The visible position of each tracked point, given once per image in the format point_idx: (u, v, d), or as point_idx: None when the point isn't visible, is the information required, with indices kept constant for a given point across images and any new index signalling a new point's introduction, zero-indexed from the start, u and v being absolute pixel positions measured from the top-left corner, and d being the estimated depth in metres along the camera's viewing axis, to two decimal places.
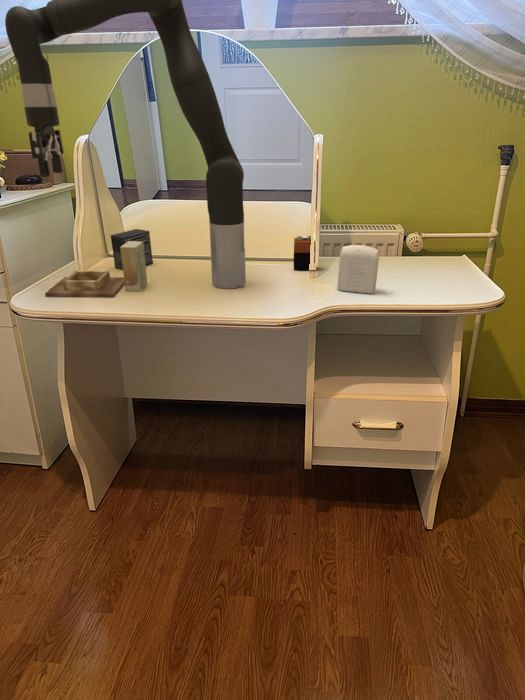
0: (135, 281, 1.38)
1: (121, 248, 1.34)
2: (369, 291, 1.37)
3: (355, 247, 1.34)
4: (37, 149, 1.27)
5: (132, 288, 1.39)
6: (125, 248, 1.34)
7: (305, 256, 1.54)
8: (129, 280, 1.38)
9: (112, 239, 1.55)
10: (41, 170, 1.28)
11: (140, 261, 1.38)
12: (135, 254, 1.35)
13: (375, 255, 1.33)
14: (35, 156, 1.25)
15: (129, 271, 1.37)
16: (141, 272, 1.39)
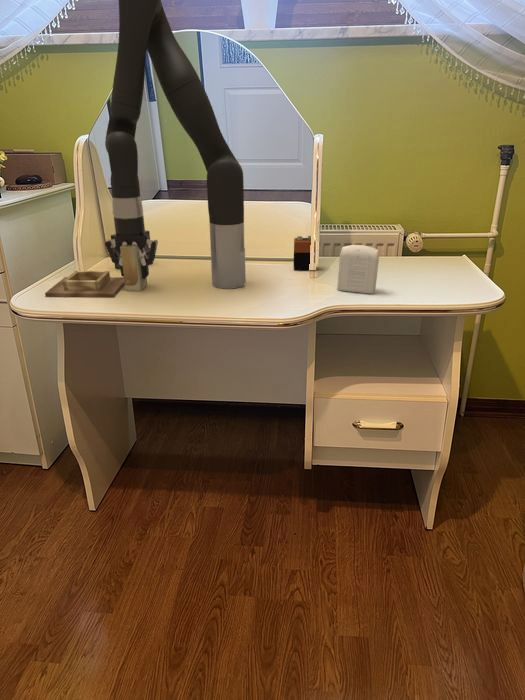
0: (135, 281, 1.38)
1: (121, 248, 1.34)
2: (369, 291, 1.37)
3: (355, 247, 1.34)
4: (143, 255, 1.37)
5: (132, 288, 1.39)
6: (125, 248, 1.34)
7: (305, 256, 1.54)
8: (129, 280, 1.38)
9: (112, 239, 1.55)
10: (147, 272, 1.40)
11: (140, 261, 1.38)
12: (135, 254, 1.35)
13: (375, 255, 1.33)
14: None
15: (129, 271, 1.37)
16: (141, 272, 1.39)
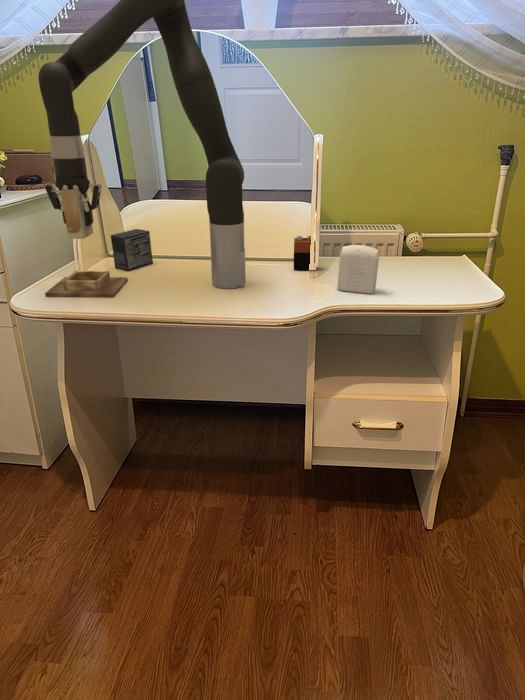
0: (78, 227, 1.31)
1: (61, 191, 1.28)
2: (369, 291, 1.37)
3: (355, 247, 1.34)
4: (85, 200, 1.30)
5: (75, 235, 1.32)
6: (65, 191, 1.28)
7: (305, 256, 1.54)
8: (71, 227, 1.31)
9: (112, 239, 1.55)
10: (91, 219, 1.33)
11: (83, 207, 1.31)
12: (76, 198, 1.28)
13: (375, 255, 1.33)
14: (96, 207, 1.32)
15: (71, 217, 1.30)
16: None
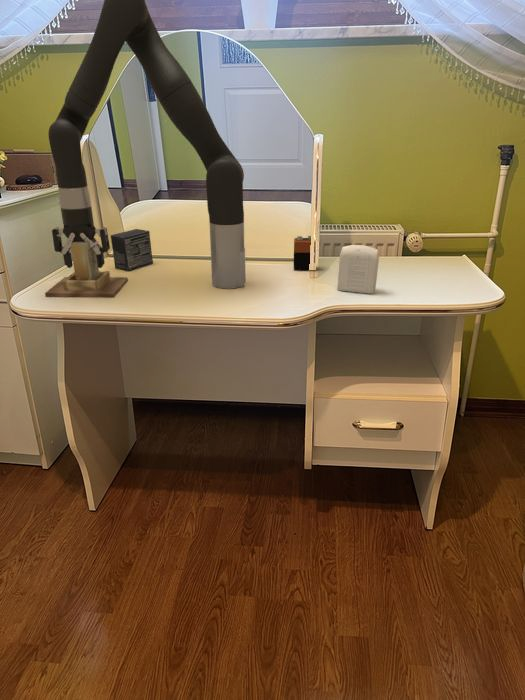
0: (86, 278, 1.37)
1: (71, 245, 1.33)
2: (369, 291, 1.37)
3: (355, 247, 1.34)
4: (95, 244, 1.35)
5: None
6: (75, 245, 1.33)
7: (305, 256, 1.54)
8: (80, 277, 1.37)
9: (112, 239, 1.55)
10: (103, 261, 1.38)
11: (92, 258, 1.37)
12: (85, 251, 1.34)
13: (375, 255, 1.33)
14: (108, 249, 1.36)
15: (80, 268, 1.36)
16: (93, 269, 1.38)
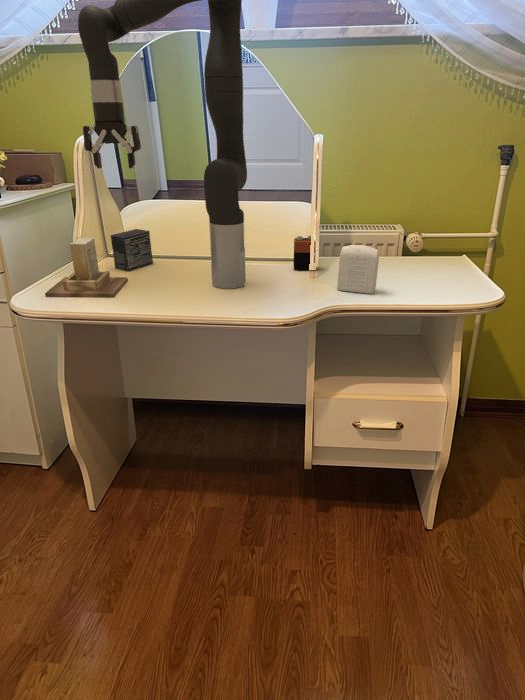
0: (86, 278, 1.37)
1: (71, 245, 1.33)
2: (369, 291, 1.37)
3: (355, 247, 1.34)
4: (126, 142, 1.34)
5: None
6: (75, 245, 1.33)
7: (305, 256, 1.54)
8: (80, 277, 1.37)
9: (112, 239, 1.55)
10: (134, 161, 1.37)
11: (91, 258, 1.37)
12: (85, 251, 1.34)
13: (375, 255, 1.33)
14: (139, 148, 1.35)
15: (80, 268, 1.36)
16: (93, 269, 1.38)
